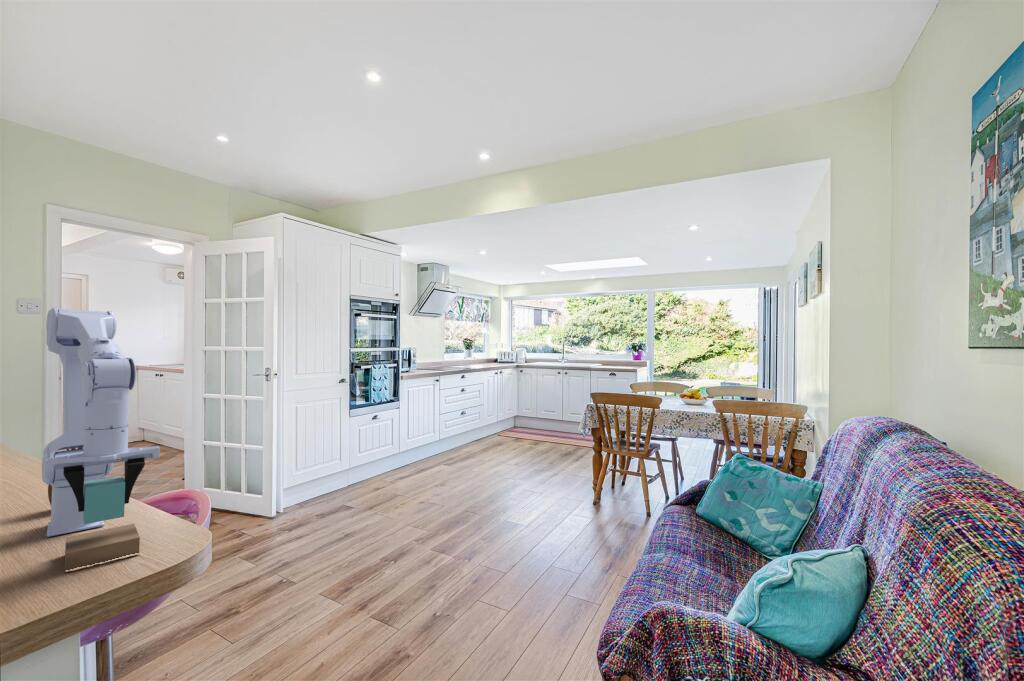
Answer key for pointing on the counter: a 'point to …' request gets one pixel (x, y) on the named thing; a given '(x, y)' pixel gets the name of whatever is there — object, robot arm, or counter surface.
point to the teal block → (104, 499)
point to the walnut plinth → (101, 546)
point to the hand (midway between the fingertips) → (104, 506)
